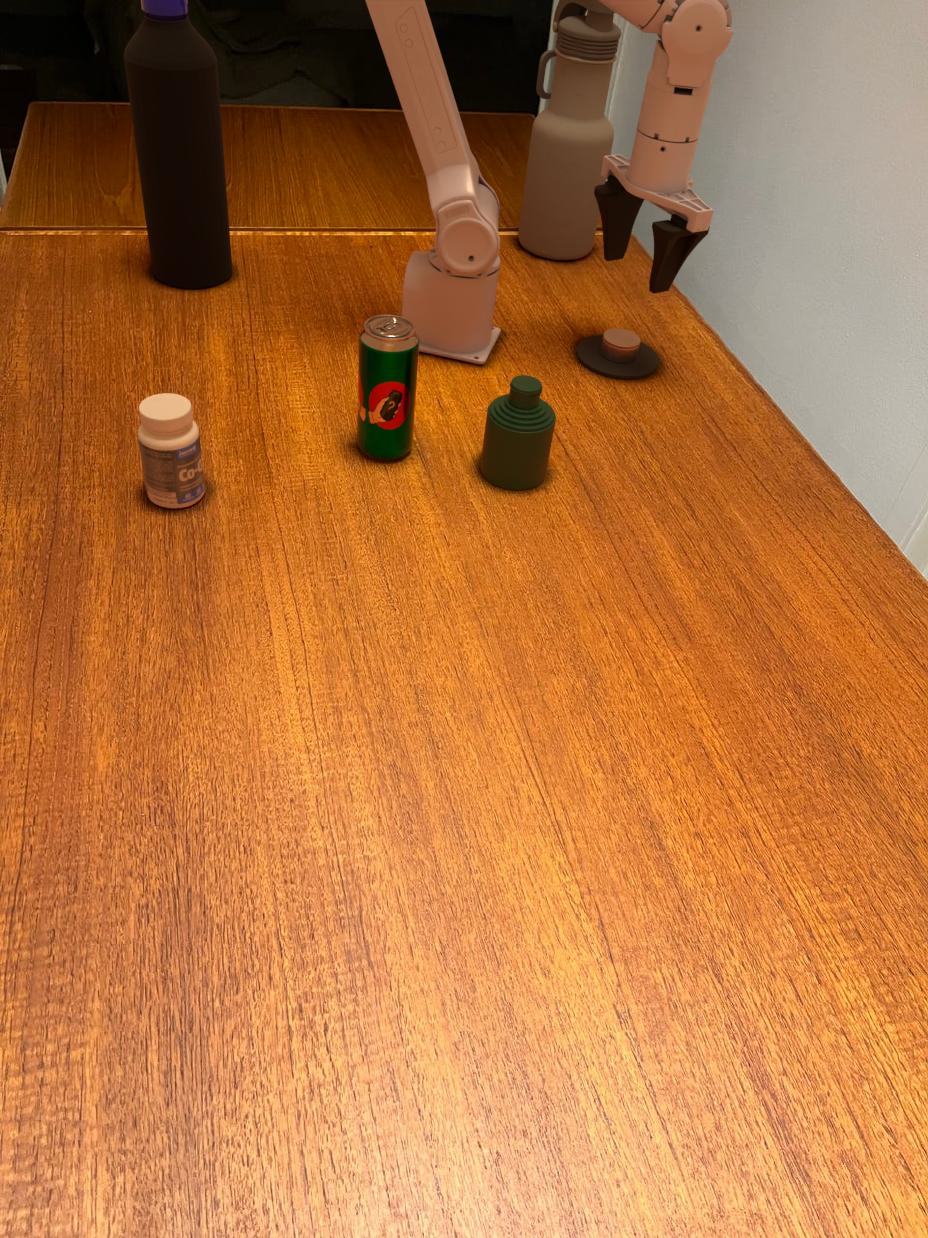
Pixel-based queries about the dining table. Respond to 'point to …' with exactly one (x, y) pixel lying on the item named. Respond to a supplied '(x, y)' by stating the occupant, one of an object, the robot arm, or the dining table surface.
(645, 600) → the dining table surface
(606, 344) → the cap
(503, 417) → the green bottle
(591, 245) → the water bottle
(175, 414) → the pill bottle
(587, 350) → the coaster
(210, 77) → the bottle
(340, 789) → the dining table surface
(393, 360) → the soda can
